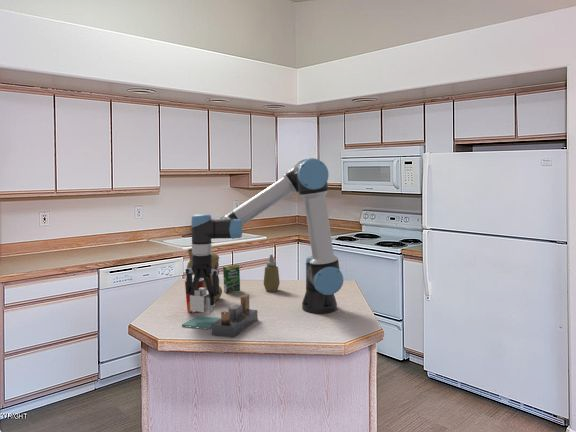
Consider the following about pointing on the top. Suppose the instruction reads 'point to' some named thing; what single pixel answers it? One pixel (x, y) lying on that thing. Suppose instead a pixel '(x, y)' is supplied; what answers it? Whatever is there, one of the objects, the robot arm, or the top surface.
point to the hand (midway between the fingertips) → (202, 312)
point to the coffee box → (231, 278)
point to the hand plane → (235, 319)
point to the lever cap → (199, 300)
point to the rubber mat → (201, 322)
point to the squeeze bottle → (271, 276)
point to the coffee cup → (189, 294)
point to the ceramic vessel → (215, 266)
